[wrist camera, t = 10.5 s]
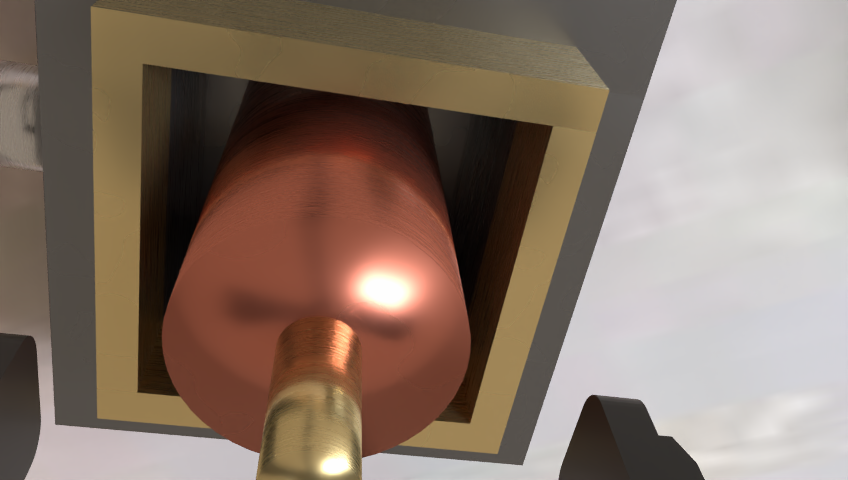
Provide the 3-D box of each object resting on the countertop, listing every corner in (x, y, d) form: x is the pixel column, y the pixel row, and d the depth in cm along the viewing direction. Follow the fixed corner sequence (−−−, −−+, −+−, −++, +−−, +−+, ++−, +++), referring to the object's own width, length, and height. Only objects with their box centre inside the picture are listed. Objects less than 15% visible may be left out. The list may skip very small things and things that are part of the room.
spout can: (249, 15, 20) (110, 318, 9) (444, 46, 21) (537, 361, 10) (235, 192, 23) (113, 602, 12) (411, 214, 24) (455, 622, 12)
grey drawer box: (26, -236, 18) (-200, -240, 11) (615, -118, 20) (759, -55, 13) (50, 282, 25) (-79, 495, 18) (491, 332, 27) (540, 541, 20)
